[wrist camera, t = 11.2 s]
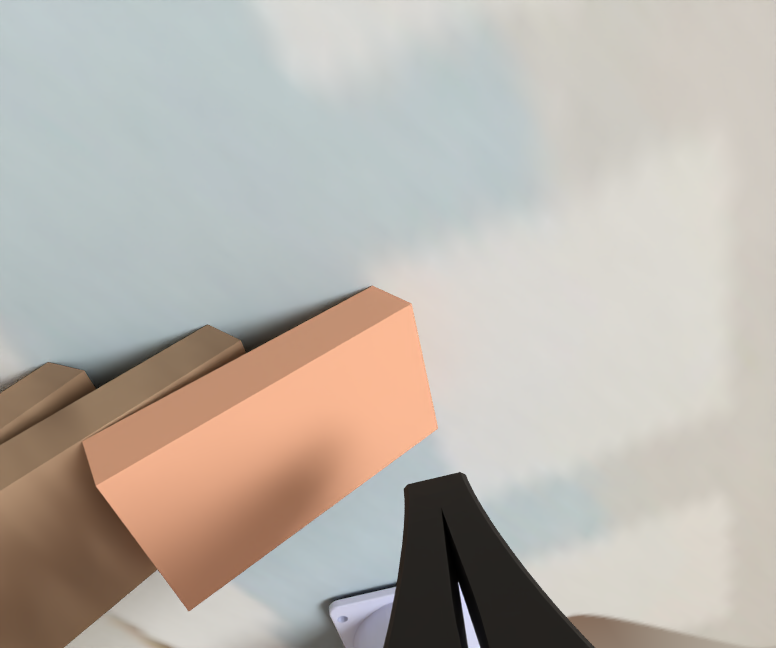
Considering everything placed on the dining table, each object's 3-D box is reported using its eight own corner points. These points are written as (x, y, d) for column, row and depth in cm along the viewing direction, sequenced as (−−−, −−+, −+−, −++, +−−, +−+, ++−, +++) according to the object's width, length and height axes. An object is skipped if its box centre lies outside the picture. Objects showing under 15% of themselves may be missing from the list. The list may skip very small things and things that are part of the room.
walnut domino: (290, 458, 18) (12, 690, 13) (258, 436, 19) (-5, 639, 14) (240, 340, 15) (-131, 572, 10) (207, 324, 17) (-136, 523, 12)
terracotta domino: (438, 428, 18) (189, 611, 14) (402, 403, 19) (168, 562, 15) (411, 303, 15) (95, 485, 11) (372, 285, 16) (82, 441, 13)
